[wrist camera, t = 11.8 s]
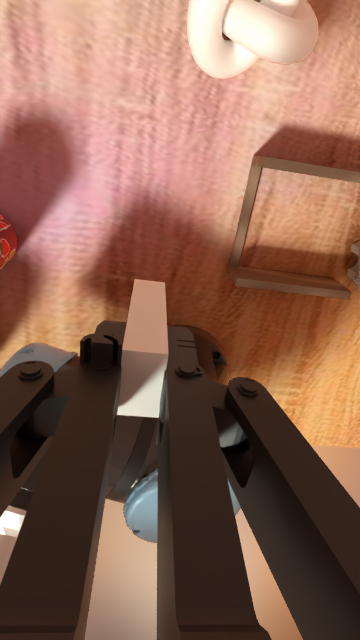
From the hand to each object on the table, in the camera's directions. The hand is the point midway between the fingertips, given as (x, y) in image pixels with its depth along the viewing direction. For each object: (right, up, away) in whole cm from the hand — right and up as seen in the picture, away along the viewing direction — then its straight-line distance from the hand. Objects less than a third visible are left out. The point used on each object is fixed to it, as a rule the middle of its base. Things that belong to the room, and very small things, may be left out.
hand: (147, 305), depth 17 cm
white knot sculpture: (+7, +28, +16) cm, 33 cm away
